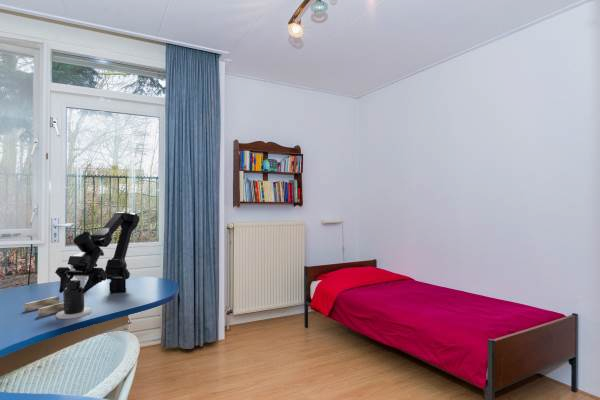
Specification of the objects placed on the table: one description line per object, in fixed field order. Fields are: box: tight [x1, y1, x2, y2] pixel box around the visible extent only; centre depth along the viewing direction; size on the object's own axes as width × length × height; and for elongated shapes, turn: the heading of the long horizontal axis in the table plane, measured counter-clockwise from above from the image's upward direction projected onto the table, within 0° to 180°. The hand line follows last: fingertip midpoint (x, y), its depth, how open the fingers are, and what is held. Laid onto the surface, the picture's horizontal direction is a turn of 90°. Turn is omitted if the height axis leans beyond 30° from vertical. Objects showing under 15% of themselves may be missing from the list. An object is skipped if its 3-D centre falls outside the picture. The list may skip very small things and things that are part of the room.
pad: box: [55, 306, 93, 320], centre depth 139 cm, size 12×12×1 cm
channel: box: [24, 295, 64, 318], centre depth 143 cm, size 12×12×3 cm
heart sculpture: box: [69, 251, 88, 288], centre depth 170 cm, size 16×5×18 cm, turn 10°
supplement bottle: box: [62, 279, 85, 314], centre depth 139 cm, size 7×7×12 cm
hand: (71, 292), depth 137 cm, fingers open, 9 cm apart
